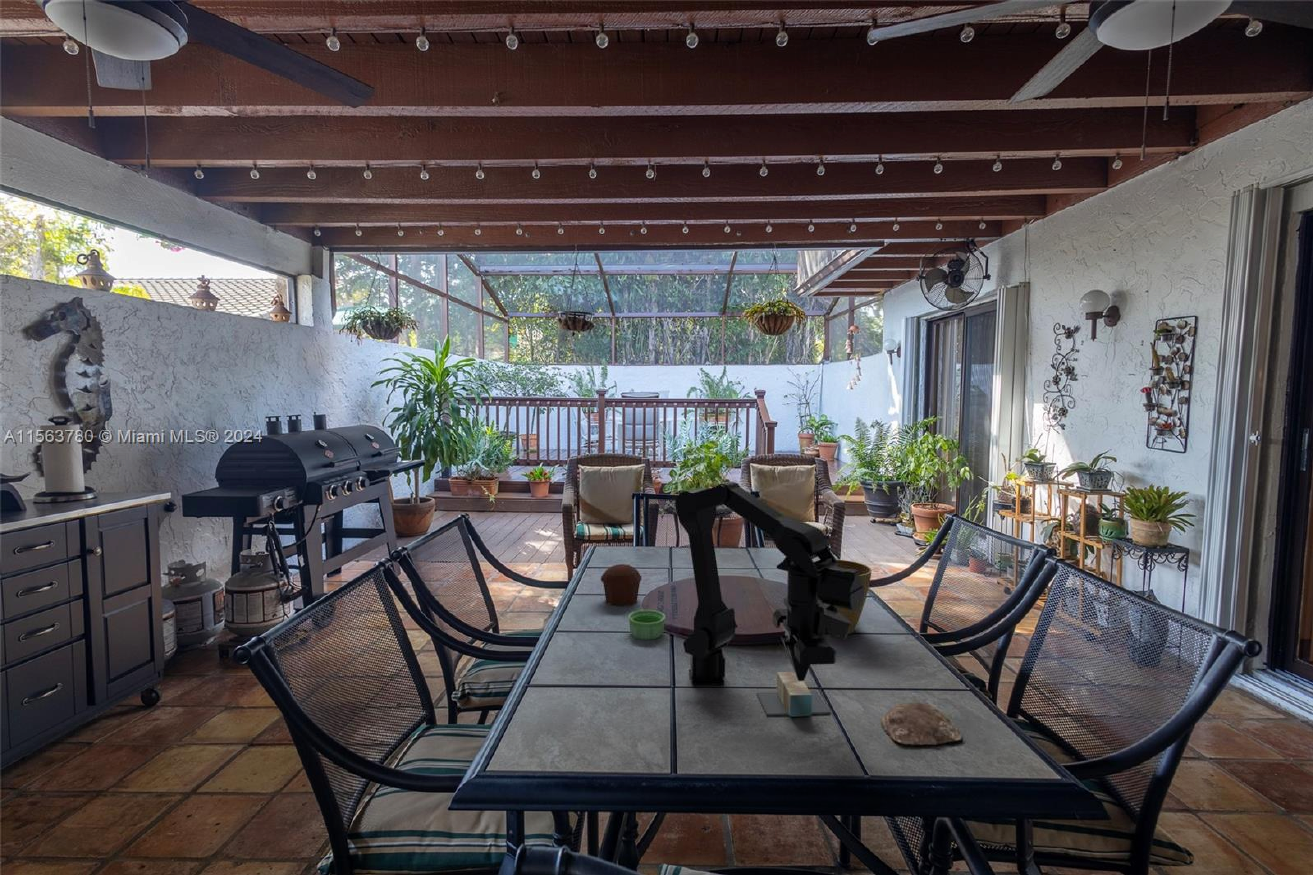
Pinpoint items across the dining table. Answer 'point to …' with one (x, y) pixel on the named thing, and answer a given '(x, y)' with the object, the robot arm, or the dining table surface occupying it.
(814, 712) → the mat
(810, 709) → the oak block
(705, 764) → the dining table surface
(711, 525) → the robot arm
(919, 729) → the shell
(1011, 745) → the dining table surface
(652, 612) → the ramekin
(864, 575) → the plant pot
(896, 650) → the dining table surface
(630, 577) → the muffin
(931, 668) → the dining table surface
